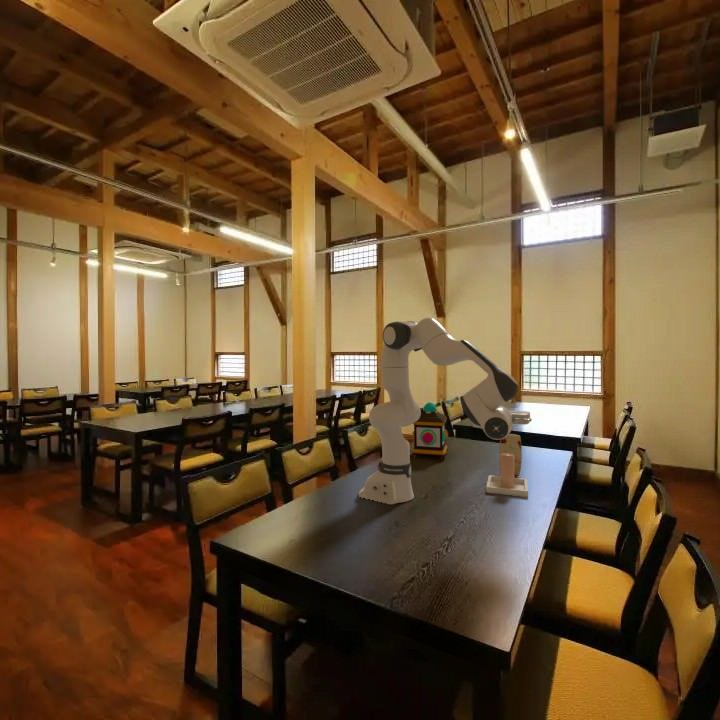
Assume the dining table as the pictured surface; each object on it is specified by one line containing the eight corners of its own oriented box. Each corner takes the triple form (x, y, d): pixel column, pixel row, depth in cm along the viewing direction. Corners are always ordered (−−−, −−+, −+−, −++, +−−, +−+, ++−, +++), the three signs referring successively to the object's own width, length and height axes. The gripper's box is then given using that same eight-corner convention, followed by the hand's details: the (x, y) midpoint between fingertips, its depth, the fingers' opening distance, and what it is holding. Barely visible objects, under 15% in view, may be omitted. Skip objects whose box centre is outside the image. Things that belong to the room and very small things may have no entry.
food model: (498, 476, 188) (498, 433, 187) (500, 472, 194) (500, 431, 193) (521, 479, 184) (521, 435, 183) (522, 475, 190) (522, 432, 189)
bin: (486, 492, 168) (486, 486, 168) (488, 480, 183) (488, 475, 183) (528, 497, 162) (528, 491, 162) (527, 484, 177) (527, 478, 177)
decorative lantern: (415, 450, 237) (415, 399, 236) (450, 452, 231) (449, 400, 230) (409, 459, 218) (408, 404, 217) (446, 462, 212) (446, 405, 211)
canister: (500, 488, 171) (500, 455, 170) (500, 484, 176) (500, 452, 175) (514, 490, 169) (514, 457, 168) (514, 486, 174) (514, 453, 173)
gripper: (531, 411, 134) (530, 405, 146) (468, 408, 141) (472, 403, 154) (531, 430, 134) (530, 422, 147) (468, 426, 141) (472, 419, 154)
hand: (500, 412), depth 150 cm, fingers open, 8 cm apart
